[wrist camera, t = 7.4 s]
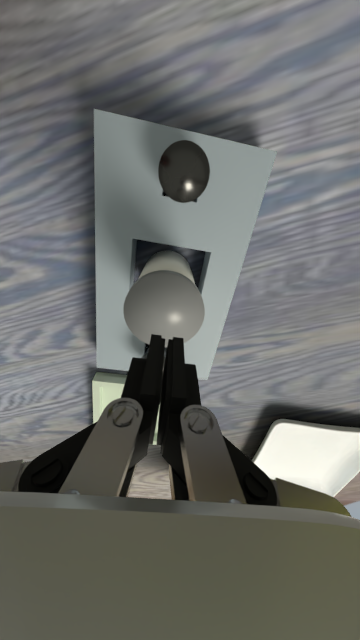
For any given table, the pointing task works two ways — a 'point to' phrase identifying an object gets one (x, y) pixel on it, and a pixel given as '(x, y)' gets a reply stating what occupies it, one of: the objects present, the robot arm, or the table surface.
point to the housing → (169, 226)
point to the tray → (109, 394)
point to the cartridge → (164, 300)
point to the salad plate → (310, 454)
